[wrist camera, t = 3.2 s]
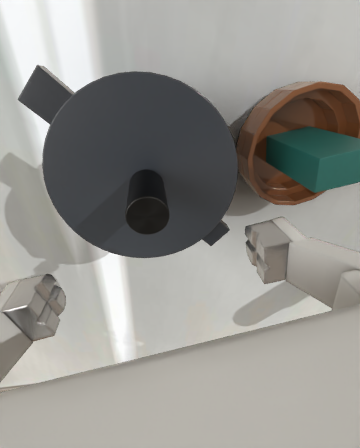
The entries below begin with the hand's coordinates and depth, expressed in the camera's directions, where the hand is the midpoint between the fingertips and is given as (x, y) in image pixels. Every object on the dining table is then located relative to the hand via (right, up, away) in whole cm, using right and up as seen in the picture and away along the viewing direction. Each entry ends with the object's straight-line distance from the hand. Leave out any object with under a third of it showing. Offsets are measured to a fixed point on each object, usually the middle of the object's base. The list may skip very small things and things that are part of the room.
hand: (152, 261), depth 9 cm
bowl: (+13, +11, +17) cm, 24 cm away
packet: (+13, +11, +16) cm, 24 cm away
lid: (-1, +5, +7) cm, 9 cm away
